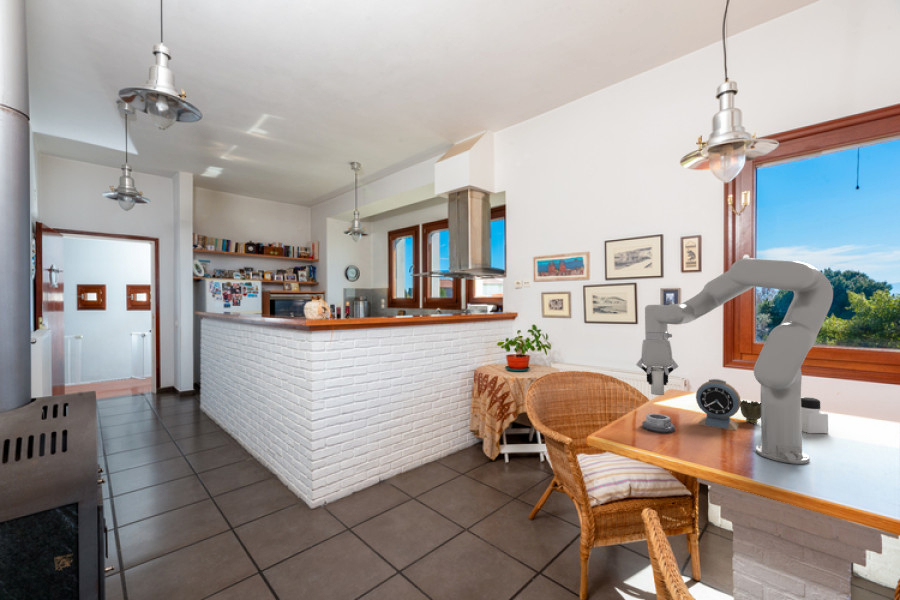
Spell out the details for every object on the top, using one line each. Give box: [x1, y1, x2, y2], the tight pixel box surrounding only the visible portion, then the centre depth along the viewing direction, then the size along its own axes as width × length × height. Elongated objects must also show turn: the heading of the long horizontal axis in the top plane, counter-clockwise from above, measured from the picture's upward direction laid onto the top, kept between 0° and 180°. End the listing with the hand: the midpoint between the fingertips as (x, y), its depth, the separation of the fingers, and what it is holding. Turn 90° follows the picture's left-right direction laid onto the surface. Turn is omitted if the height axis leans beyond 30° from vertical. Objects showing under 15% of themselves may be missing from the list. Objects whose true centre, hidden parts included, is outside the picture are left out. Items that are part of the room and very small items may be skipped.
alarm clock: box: [695, 378, 742, 432], centre depth 148 cm, size 14×10×18 cm
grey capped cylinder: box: [650, 366, 665, 396], centre depth 145 cm, size 4×4×10 cm
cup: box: [739, 399, 761, 424], centre depth 150 cm, size 8×7×8 cm
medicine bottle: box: [801, 396, 829, 434], centre depth 140 cm, size 7×7×12 cm
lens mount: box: [641, 413, 676, 434], centre depth 145 cm, size 11×11×4 cm
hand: (657, 383), depth 145 cm, fingers closed on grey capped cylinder, 4 cm apart
